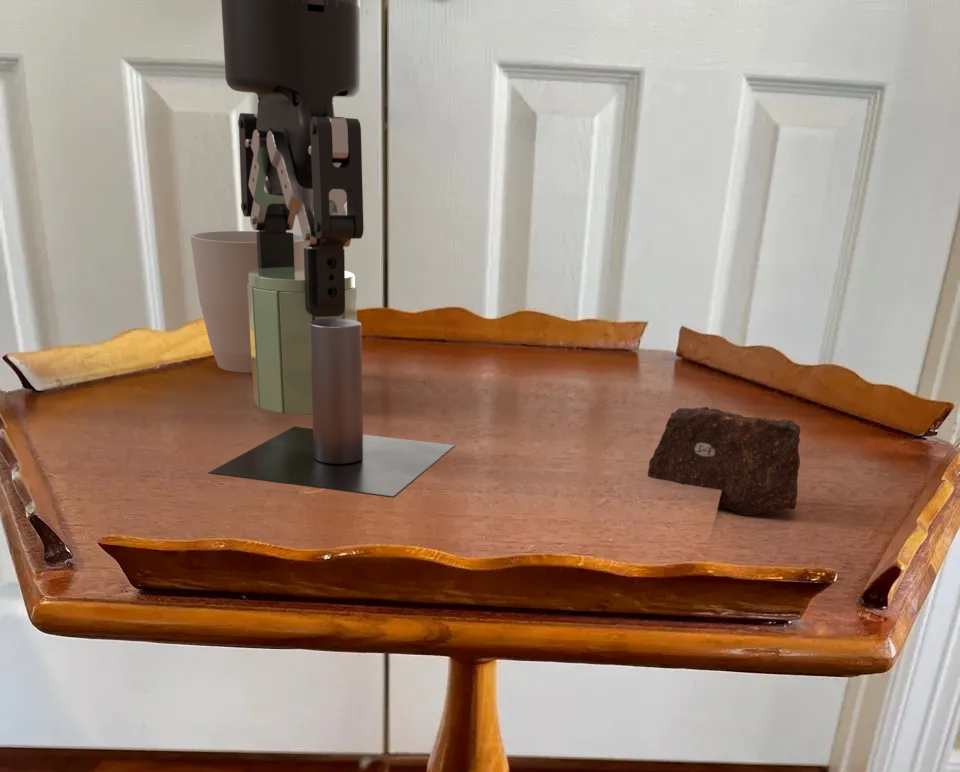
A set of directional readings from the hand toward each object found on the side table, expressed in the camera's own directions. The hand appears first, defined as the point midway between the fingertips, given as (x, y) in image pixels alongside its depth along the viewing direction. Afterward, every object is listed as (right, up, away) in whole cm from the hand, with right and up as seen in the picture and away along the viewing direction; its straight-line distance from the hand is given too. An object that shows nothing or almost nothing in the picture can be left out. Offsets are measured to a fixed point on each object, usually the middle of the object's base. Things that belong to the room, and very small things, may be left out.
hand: (300, 304), depth 63 cm
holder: (+3, -12, -8) cm, 15 cm away
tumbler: (0, -7, +3) cm, 7 cm away
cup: (-5, -2, +13) cm, 14 cm away
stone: (+24, -14, -9) cm, 29 cm away
